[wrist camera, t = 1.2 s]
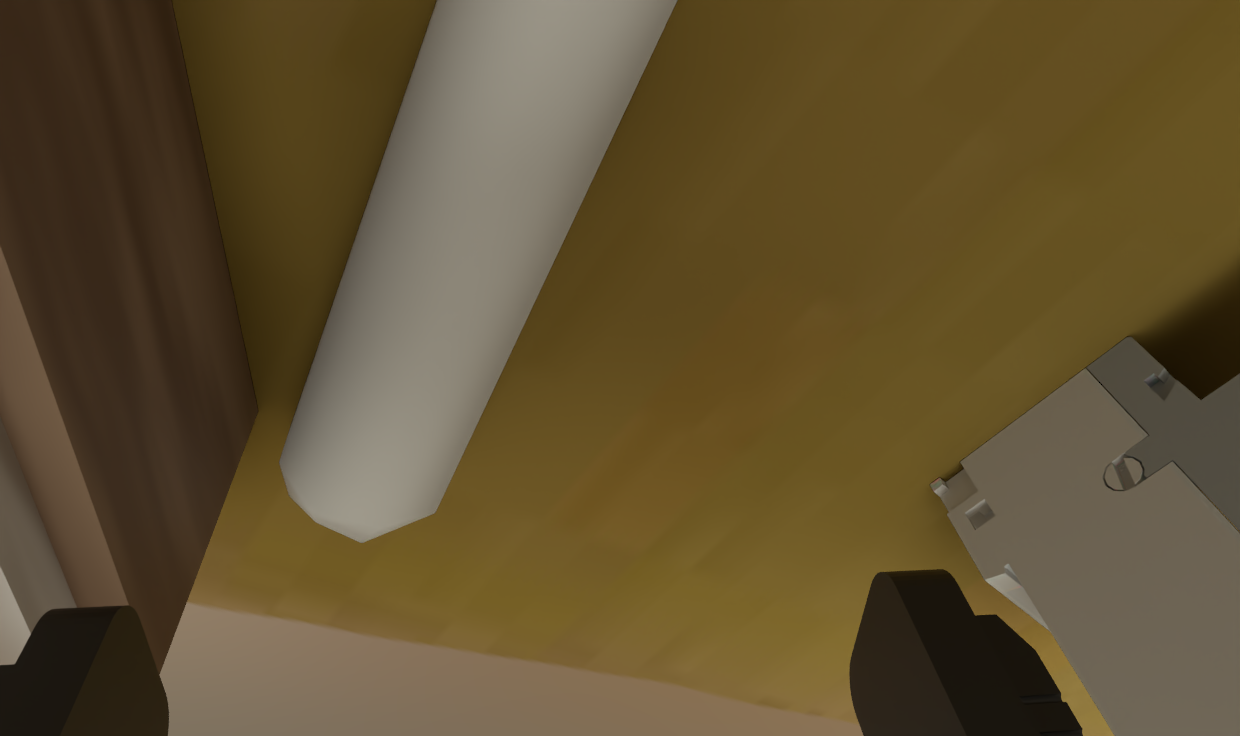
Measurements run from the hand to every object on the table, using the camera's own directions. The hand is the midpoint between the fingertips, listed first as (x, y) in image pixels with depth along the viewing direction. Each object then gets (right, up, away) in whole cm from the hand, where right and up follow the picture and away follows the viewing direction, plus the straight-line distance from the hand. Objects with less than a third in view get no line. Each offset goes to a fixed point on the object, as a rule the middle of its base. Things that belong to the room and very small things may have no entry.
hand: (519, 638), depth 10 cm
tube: (-2, +10, +14) cm, 17 cm away
